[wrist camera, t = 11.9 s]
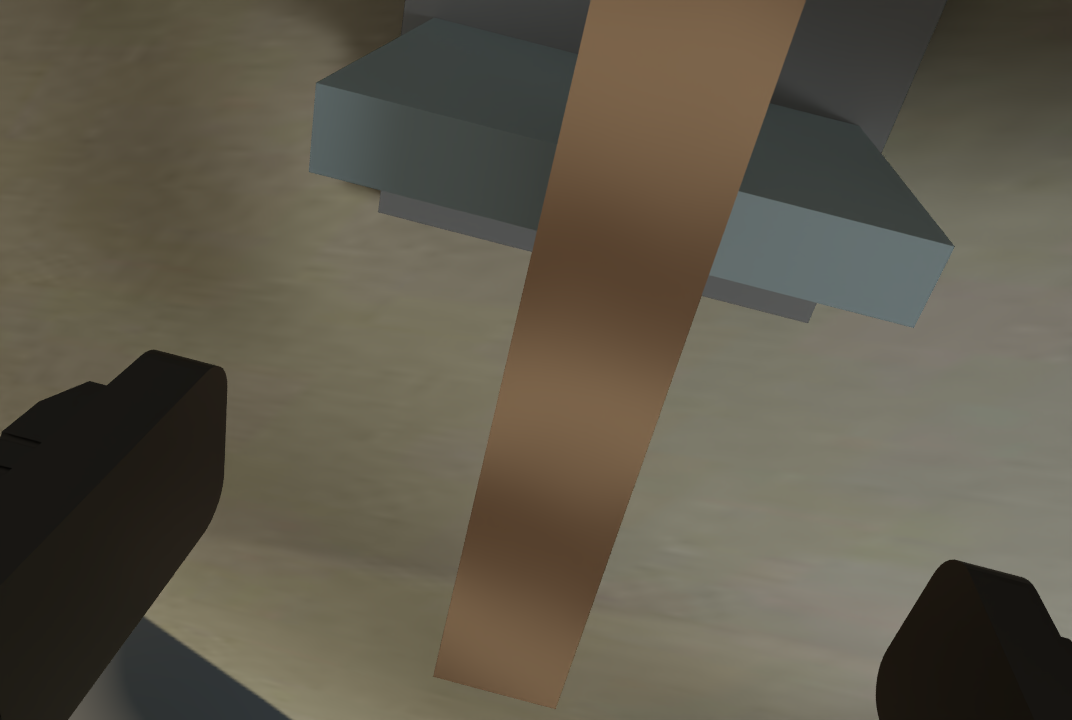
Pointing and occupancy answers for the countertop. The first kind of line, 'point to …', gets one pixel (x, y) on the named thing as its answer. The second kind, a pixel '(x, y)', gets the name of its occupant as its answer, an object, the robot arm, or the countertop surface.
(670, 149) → the light wood bar
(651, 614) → the countertop surface
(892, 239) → the stand
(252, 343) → the countertop surface
